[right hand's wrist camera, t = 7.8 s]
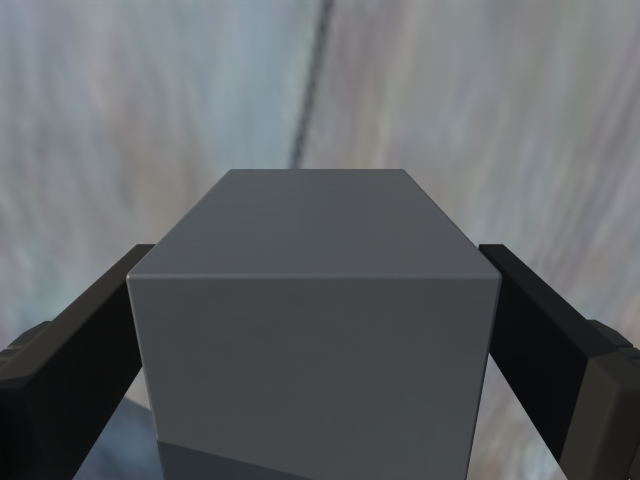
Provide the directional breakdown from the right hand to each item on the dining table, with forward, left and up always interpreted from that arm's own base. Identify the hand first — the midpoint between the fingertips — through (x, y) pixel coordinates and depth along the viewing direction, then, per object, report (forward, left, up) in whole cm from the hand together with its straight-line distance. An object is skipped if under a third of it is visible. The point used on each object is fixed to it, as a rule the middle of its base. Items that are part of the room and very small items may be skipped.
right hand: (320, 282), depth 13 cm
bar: (+3, +9, -2) cm, 10 cm away
